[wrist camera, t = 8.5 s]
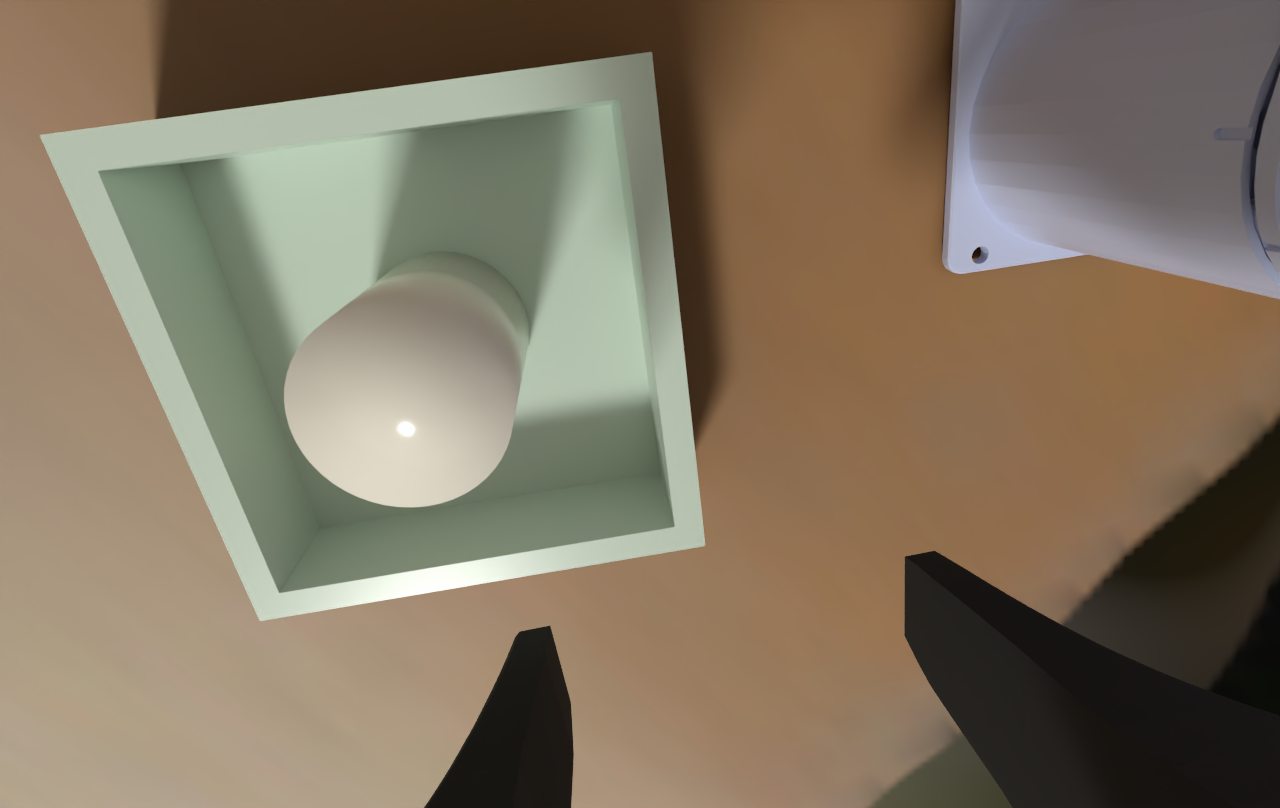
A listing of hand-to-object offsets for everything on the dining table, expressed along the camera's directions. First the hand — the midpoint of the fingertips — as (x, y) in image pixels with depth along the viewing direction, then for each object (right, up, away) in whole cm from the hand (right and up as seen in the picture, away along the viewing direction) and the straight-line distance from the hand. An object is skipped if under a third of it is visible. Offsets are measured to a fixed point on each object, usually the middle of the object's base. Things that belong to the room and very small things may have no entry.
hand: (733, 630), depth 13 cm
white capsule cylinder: (-7, +7, +6) cm, 11 cm away
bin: (-7, +7, +7) cm, 12 cm away
